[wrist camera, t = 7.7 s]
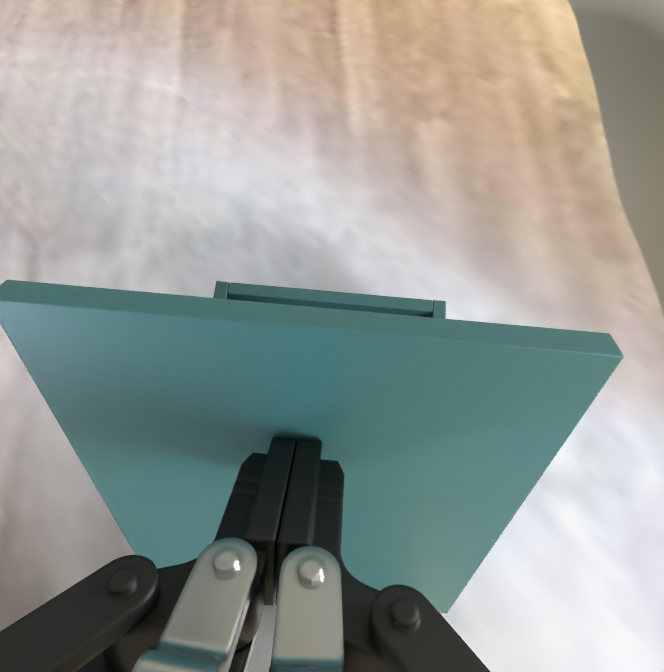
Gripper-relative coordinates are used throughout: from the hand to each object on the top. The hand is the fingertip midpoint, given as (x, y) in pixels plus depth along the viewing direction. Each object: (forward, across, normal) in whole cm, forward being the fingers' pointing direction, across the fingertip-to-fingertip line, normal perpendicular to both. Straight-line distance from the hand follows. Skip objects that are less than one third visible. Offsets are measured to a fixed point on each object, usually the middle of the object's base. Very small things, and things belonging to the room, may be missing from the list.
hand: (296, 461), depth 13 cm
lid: (+2, 0, +3) cm, 4 cm away
